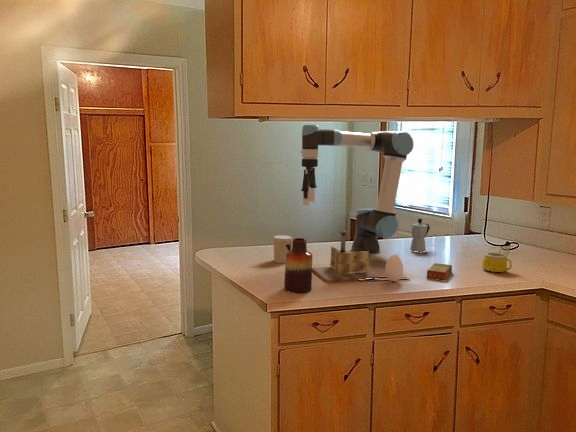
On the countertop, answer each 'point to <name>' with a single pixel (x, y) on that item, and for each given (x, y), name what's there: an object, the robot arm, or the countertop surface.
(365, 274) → the hinge mount
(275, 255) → the coffee cup
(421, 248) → the coffee maker
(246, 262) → the countertop surface
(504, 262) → the mug
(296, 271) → the vase
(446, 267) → the carton
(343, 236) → the hinge pin
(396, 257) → the egg
